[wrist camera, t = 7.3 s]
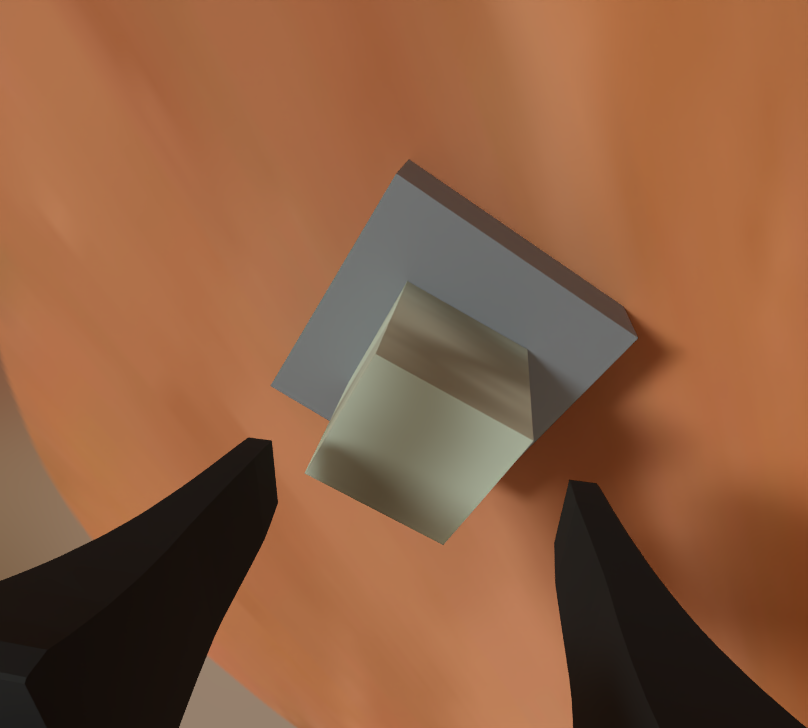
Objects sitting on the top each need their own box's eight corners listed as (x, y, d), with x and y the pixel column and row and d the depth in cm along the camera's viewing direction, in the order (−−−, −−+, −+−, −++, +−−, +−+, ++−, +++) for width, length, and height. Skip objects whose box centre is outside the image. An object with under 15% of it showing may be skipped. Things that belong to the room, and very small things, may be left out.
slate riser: (621, 301, 20) (637, 337, 18) (475, 457, 25) (471, 505, 22) (411, 156, 19) (396, 173, 16) (296, 348, 23) (270, 385, 21)
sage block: (527, 349, 18) (533, 441, 14) (456, 441, 21) (443, 545, 16) (407, 280, 18) (375, 354, 14) (348, 382, 20) (304, 473, 16)
